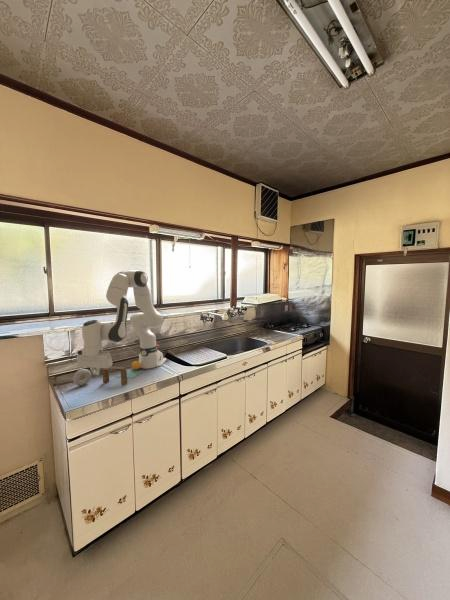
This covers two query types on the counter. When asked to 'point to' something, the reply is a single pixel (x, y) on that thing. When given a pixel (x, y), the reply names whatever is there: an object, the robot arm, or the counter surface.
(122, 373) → the bridge
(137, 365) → the ball
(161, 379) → the counter surface
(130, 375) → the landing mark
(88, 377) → the donut
